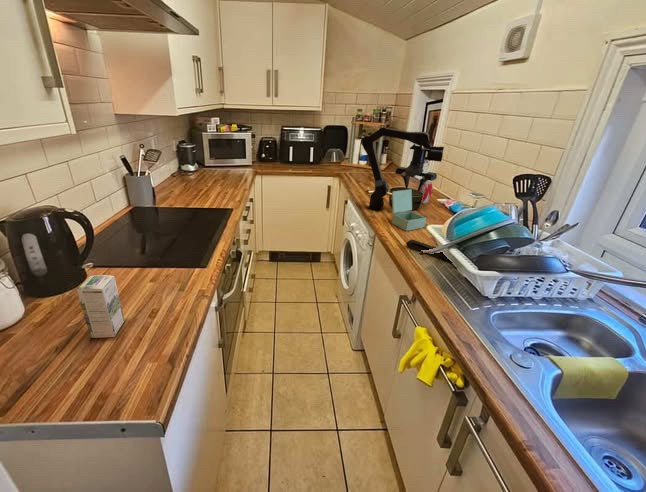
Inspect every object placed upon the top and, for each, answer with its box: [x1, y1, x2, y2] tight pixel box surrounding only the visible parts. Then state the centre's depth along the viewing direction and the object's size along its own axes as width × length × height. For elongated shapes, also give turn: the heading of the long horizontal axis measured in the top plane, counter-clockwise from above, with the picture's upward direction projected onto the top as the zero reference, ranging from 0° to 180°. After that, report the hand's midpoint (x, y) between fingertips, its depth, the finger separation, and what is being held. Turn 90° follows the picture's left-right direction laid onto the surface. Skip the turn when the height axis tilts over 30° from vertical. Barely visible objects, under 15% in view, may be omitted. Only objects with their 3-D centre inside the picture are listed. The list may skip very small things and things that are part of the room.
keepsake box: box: [391, 210, 427, 232], centre depth 142 cm, size 10×12×5 cm
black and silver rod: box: [406, 239, 452, 263], centre depth 117 cm, size 18×3×3 cm, turn 47°
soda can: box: [420, 180, 434, 205], centre depth 172 cm, size 7×7×12 cm
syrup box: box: [76, 274, 125, 339], centre depth 73 cm, size 6×6×14 cm
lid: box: [391, 188, 413, 214], centre depth 144 cm, size 10×12×1 cm
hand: (412, 190), depth 151 cm, fingers open, 6 cm apart
